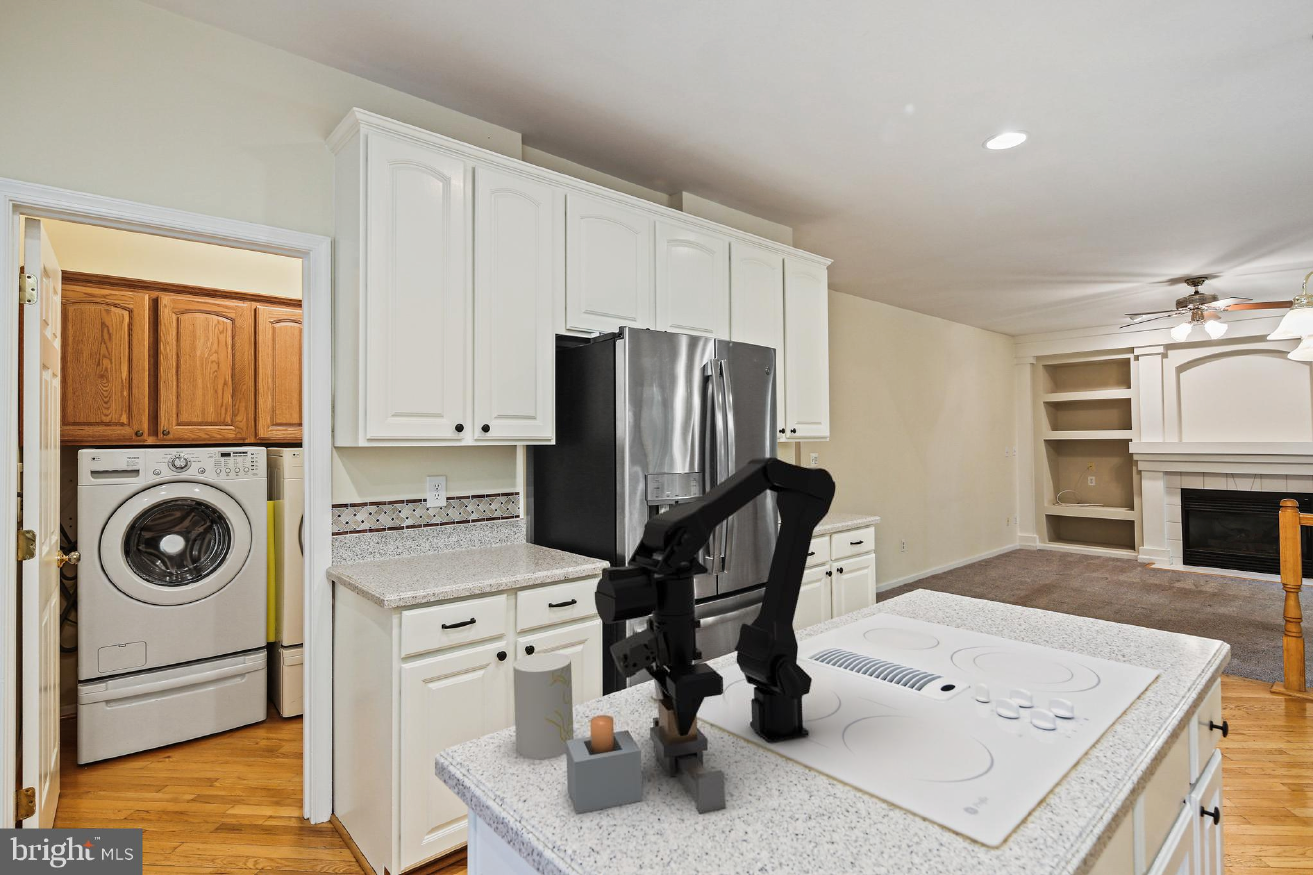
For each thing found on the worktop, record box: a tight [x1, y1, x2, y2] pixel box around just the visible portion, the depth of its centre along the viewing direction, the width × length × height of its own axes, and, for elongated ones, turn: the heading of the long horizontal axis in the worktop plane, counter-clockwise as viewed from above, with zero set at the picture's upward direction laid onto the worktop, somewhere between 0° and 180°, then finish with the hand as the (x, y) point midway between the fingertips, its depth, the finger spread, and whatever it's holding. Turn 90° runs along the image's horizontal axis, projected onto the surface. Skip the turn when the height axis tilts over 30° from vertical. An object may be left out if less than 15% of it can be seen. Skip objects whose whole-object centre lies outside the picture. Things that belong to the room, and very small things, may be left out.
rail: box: [652, 716, 726, 814], centre depth 85 cm, size 3×18×4 cm, turn 17°
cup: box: [512, 652, 575, 760], centre depth 95 cm, size 8×8×12 cm
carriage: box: [649, 698, 709, 777], centre depth 88 cm, size 6×6×8 cm
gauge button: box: [589, 714, 615, 754], centre depth 81 cm, size 3×3×4 cm
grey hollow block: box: [565, 730, 643, 815], centre depth 81 cm, size 8×6×6 cm
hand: (678, 728), depth 88 cm, fingers closed on carriage, 4 cm apart
